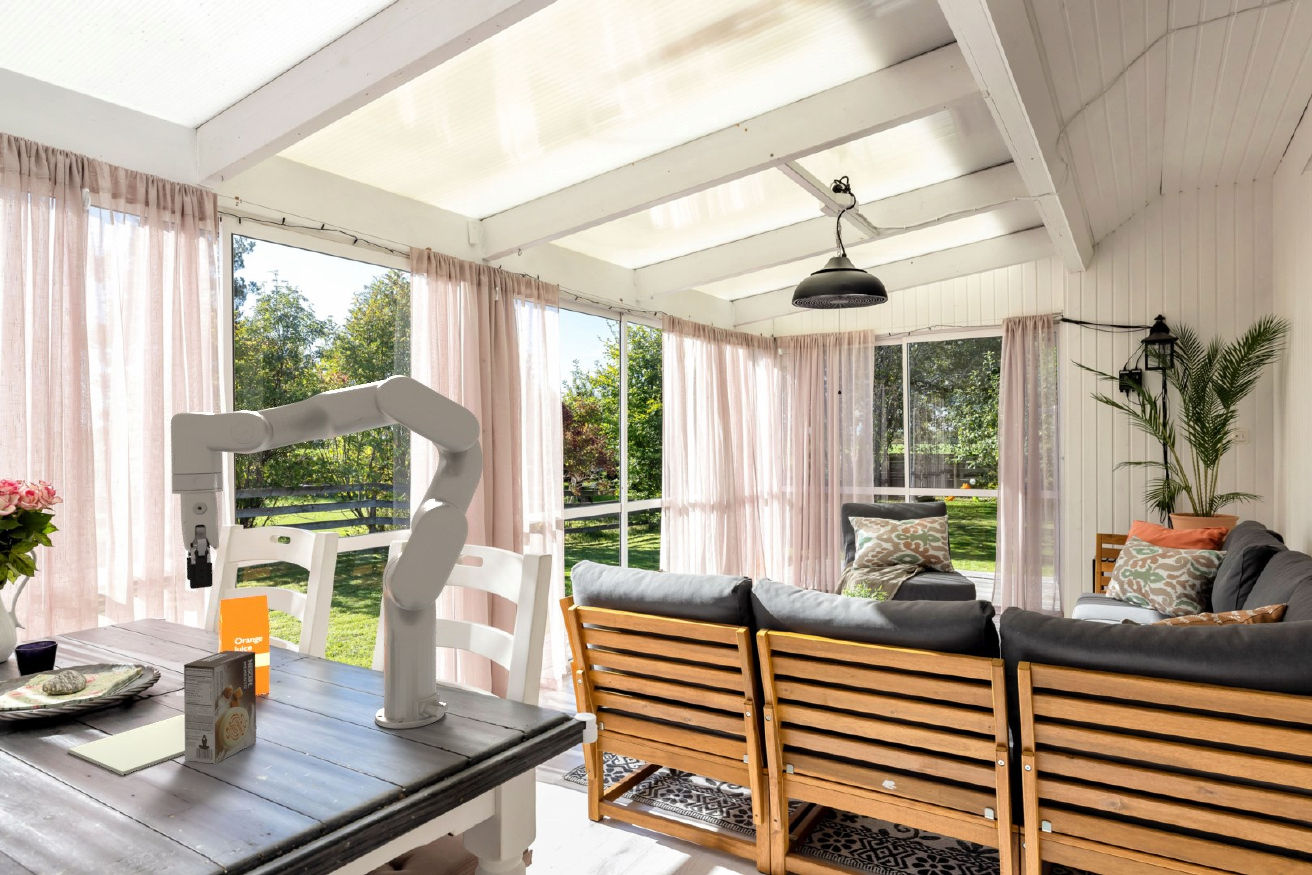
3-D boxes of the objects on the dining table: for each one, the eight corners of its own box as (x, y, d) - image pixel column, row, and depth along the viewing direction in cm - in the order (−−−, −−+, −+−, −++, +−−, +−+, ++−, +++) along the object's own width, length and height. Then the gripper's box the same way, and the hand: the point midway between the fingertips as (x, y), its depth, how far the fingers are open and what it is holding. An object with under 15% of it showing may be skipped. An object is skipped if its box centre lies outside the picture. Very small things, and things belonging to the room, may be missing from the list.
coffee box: (226, 739, 132) (226, 648, 132) (257, 743, 131) (257, 651, 131) (182, 761, 123) (182, 663, 123) (215, 765, 122) (215, 666, 122)
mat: (256, 729, 137) (256, 725, 137) (122, 775, 118) (122, 771, 118) (201, 711, 146) (201, 708, 146) (68, 752, 127) (68, 748, 127)
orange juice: (269, 693, 157) (269, 598, 157) (221, 701, 152) (221, 603, 152) (264, 683, 163) (264, 591, 164) (218, 691, 158) (218, 596, 159)
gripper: (227, 484, 124) (229, 588, 124) (218, 481, 138) (220, 573, 138) (173, 487, 120) (175, 594, 120) (170, 483, 134) (171, 578, 134)
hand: (199, 583), depth 129 cm, fingers open, 9 cm apart
